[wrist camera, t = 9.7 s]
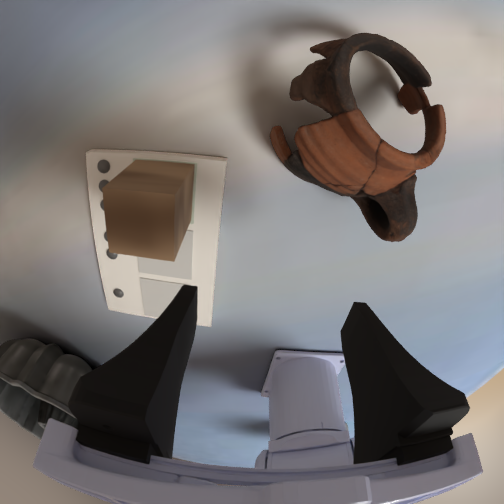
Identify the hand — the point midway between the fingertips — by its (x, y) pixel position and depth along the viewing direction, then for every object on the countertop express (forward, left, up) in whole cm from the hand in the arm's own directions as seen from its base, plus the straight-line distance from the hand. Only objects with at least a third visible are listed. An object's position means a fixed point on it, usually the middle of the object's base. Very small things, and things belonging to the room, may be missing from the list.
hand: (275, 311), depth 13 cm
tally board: (-4, +8, -9) cm, 13 cm away
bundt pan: (-30, +25, -10) cm, 40 cm away
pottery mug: (+7, -4, -10) cm, 13 cm away
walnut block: (+2, +7, -8) cm, 11 cm away
